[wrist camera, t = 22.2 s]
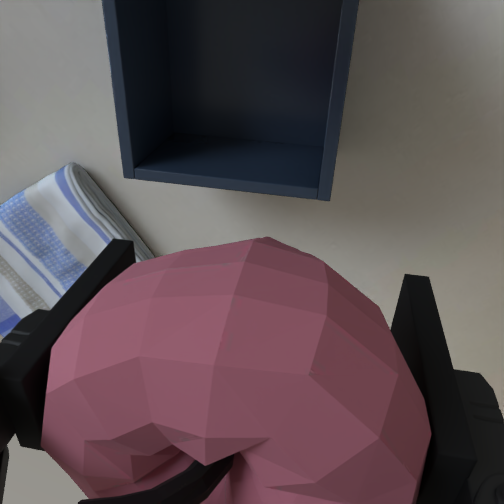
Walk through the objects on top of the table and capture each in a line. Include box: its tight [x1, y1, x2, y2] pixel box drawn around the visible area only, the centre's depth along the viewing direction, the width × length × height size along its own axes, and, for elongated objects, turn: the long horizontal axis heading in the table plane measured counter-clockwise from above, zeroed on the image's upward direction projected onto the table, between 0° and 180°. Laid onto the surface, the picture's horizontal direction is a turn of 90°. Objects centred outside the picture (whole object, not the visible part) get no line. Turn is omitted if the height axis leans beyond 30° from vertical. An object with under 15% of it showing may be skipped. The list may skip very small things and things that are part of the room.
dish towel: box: [0, 163, 155, 337], centre depth 46 cm, size 17×24×3 cm
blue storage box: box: [102, 0, 359, 201], centre depth 28 cm, size 16×14×9 cm
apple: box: [41, 237, 431, 504], centre depth 12 cm, size 10×9×10 cm
